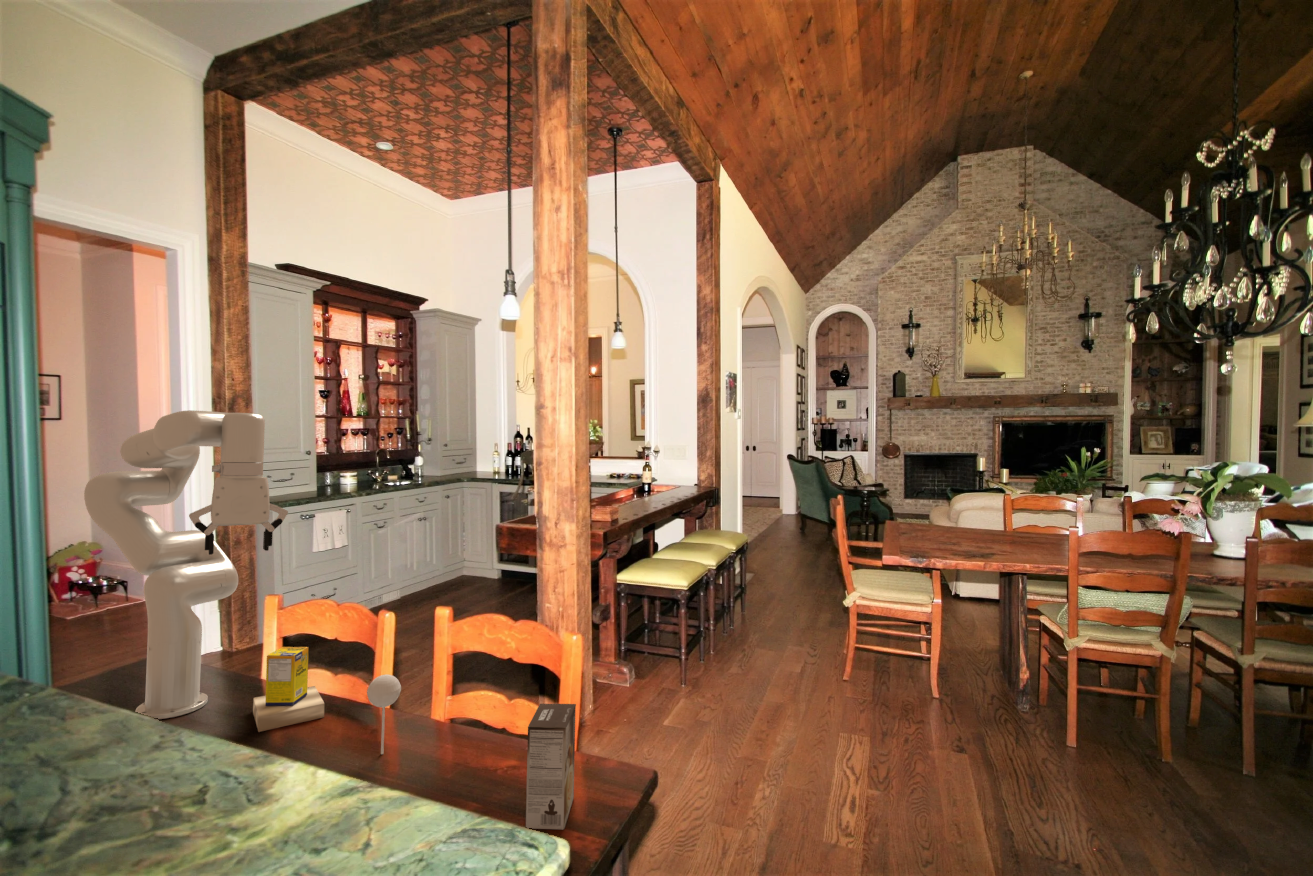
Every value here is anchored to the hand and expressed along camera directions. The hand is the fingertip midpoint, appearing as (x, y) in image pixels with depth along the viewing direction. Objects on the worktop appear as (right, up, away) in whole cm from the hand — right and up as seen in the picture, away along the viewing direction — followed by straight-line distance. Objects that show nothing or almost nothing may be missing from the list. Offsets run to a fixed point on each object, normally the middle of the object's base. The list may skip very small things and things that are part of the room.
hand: (238, 551), depth 129 cm
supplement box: (+7, -34, +4) cm, 35 cm away
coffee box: (+71, -37, -29) cm, 86 cm away
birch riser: (+8, -37, +5) cm, 38 cm away
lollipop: (+36, -37, -12) cm, 53 cm away
